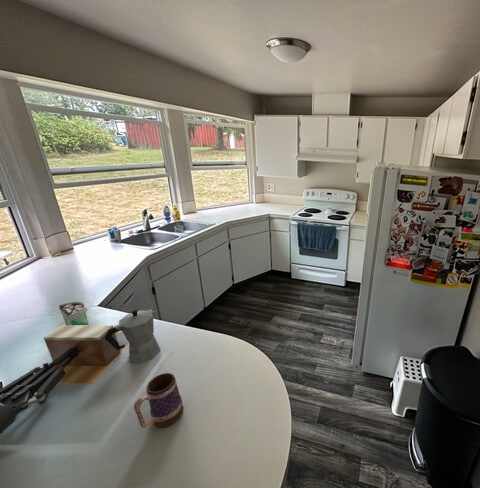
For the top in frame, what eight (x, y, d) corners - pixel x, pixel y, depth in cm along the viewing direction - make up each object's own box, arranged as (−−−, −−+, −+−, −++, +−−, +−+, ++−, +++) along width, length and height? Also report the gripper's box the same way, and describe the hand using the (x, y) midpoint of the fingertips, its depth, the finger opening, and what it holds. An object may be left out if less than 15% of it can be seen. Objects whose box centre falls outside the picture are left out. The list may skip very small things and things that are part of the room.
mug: (171, 399, 71) (164, 366, 67) (189, 409, 68) (183, 375, 64) (133, 433, 62) (122, 397, 58) (152, 446, 59) (142, 410, 55)
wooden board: (29, 386, 73) (28, 384, 73) (96, 331, 96) (96, 330, 95) (94, 385, 74) (93, 383, 74) (145, 331, 97) (144, 330, 96)
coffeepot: (156, 338, 93) (147, 297, 87) (172, 347, 89) (163, 304, 83) (108, 367, 80) (92, 321, 74) (124, 379, 76) (109, 331, 70)
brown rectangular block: (54, 365, 79) (43, 337, 76) (72, 352, 85) (62, 325, 81) (107, 365, 80) (98, 337, 76) (120, 351, 86) (113, 325, 82)
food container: (98, 330, 97) (91, 308, 93) (77, 339, 92) (68, 316, 88) (86, 318, 103) (79, 297, 99) (66, 326, 98) (58, 304, 95)
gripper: (-46, 441, 56) (56, 360, 78) (16, 440, 57) (100, 360, 79) (-62, 418, 54) (48, 341, 76) (3, 417, 54) (93, 341, 76)
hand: (74, 351), depth 77 cm, fingers closed
